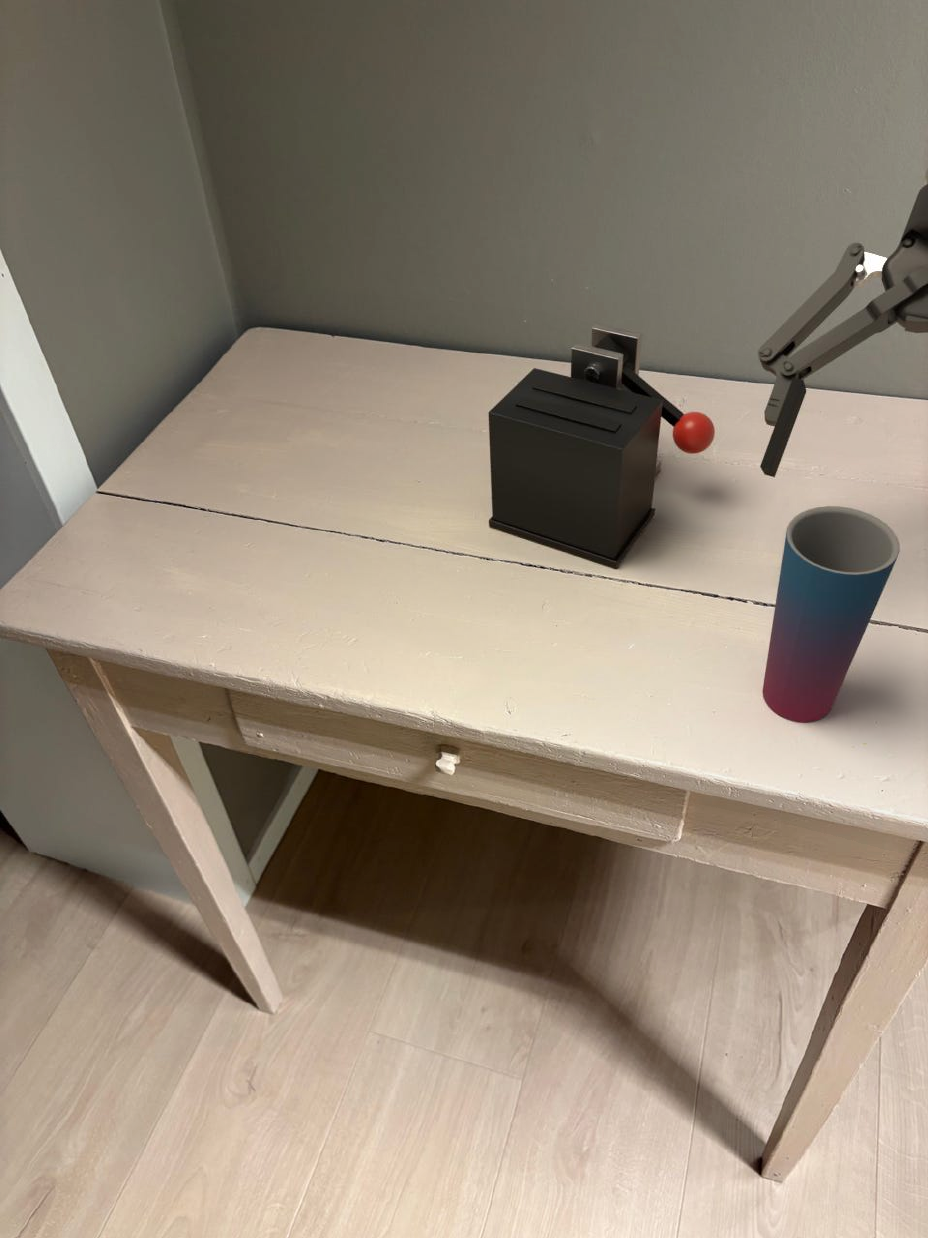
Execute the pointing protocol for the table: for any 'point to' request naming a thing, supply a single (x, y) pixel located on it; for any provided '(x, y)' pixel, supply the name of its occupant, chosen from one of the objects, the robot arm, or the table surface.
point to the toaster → (574, 465)
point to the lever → (667, 408)
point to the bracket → (607, 359)
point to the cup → (824, 606)
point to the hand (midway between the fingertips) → (864, 499)
